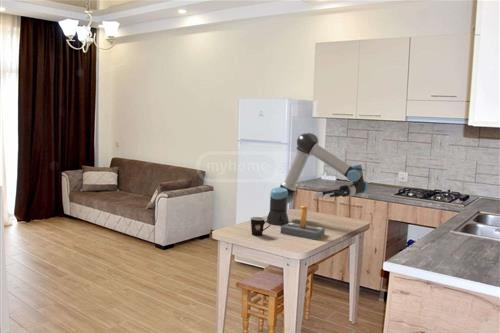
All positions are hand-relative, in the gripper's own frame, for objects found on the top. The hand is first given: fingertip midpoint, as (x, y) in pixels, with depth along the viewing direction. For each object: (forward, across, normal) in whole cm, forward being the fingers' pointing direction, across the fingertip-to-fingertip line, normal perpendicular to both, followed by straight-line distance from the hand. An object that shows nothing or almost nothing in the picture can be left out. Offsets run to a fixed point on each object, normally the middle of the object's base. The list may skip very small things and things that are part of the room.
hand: (319, 196), depth 284 cm
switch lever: (+16, 0, -21) cm, 27 cm away
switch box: (+16, 0, -21) cm, 27 cm away
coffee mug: (+44, +3, -16) cm, 47 cm away
